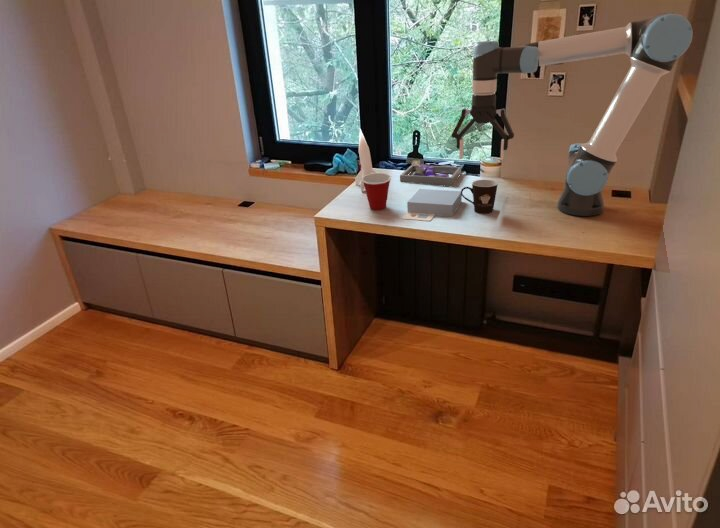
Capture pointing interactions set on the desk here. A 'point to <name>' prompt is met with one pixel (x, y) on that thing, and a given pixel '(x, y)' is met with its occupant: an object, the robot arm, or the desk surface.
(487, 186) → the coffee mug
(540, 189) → the desk surface
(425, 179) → the tray
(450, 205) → the base brick
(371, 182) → the plastic cup
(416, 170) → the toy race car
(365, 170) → the rocket
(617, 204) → the desk surface
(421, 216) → the page
